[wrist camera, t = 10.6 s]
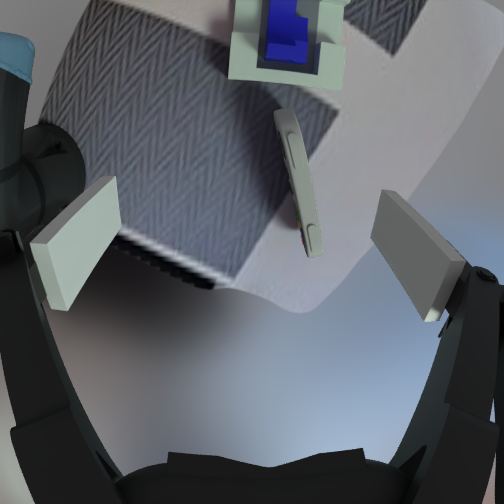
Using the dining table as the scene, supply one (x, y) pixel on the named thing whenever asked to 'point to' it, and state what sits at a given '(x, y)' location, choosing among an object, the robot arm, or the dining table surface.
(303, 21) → the cable clip
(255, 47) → the holder
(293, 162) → the slide sandal
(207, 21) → the dining table surface
